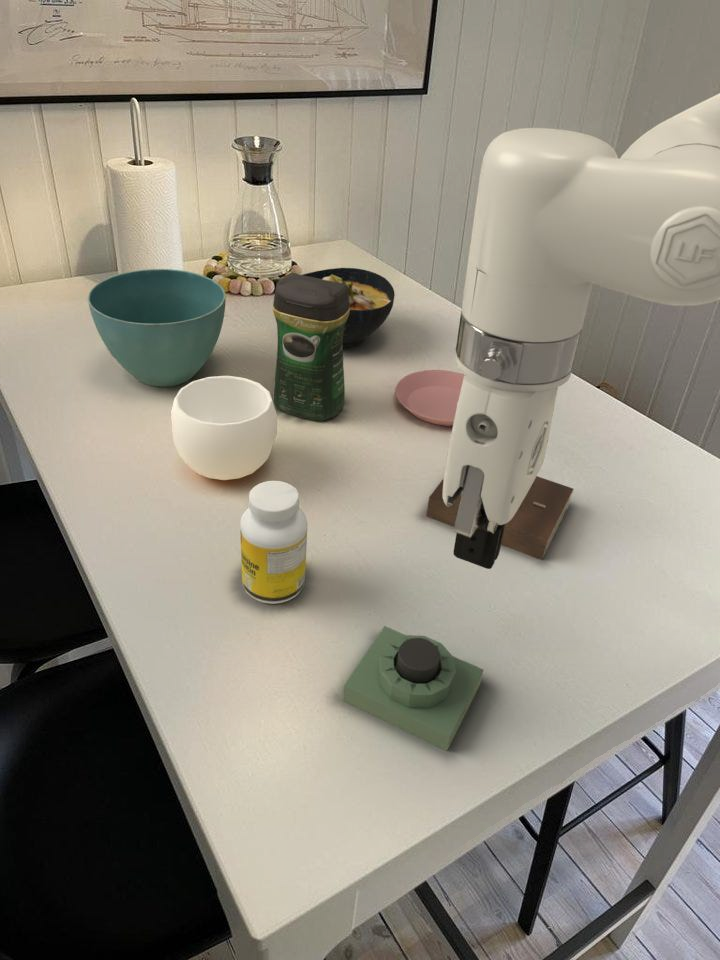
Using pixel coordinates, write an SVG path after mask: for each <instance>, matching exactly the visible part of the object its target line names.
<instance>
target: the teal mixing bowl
mask: <svg viewBox="0 0 720 960" xmlns="http://www.w3.org/2000/svg"><path fill="white" fill-rule="evenodd" d="M226 296H227V294H226V291H225V288H224V287H223V286H222V285H221V284H219V282H217V281H216V280H214V279H212V278H209V277H208V276H205V275H203V274H200V273H196V272H194V271H193V272H192V271H187V270H181V269H172V268H150V269H149V268H148V269H137V270H131V271H126V272H123V273H118V274H115V275H112V276H110V277H107V278H105V279H103V280H101V281H99V282H98V283H96V284H95V285H94V286H93V287H92V288H91V289H90V291H89V292H88V295H87V302H88V306H89V307H88V308H89V312H90V315H91V317H92V320H93V323H94V325H95V329H96V330H97V333H98V335H99V337H100V339H101V341H102V342H103V344H104V345H105V347H106V349H107V350H108V351H109V353H110V354H111V356H112V357H113V359H115V361H116V362H117V364H119V365H120V366H121V367H122V368H123V369H124V370H126V371H127V372H128V373H129V374H130V375H131V376H133V377H134V378H135V379H136V380H137V381H138V382H141V383H143V384H144V385H147V386H152V387H159V388H162V387H163V388H167V387H175V386H178V385H182V384H184V383H186V382H188V381H190V380H191V379H192V378H193V377H194V376H196V374H197V373H198V372H199V371H200V370H201V369H202V368H203V366H204V365H205V363H207V361H208V359H209V358H210V356H211V355H212V353H213V351H214V349H215V347H216V345H217V343H218V340H219V337H220V334H221V331H222V328H223V324H224V318H225V312H226V302H227V301H226V299H227V297H226Z"/></svg>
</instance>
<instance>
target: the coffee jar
mask: <svg viewBox="0 0 720 960" xmlns="http://www.w3.org/2000/svg"><path fill="white" fill-rule="evenodd" d="M272 312H273V315H274V318H275V322H276V328H277V329H276V330H277V350H276V361H275V362H276V363H275V373H274V381H273V394H272V397H273V398H272V400H273V404H274V407H275V408H276V409H277V410H278V411H281V412H282V413H286V414H288V415H291V416H294V417H299V418H301V419H302V418H303V419H308V420H312V421H321V422H322V421H326V420H328V419H332V418H333V417H335V416H336V415H338V414H339V413H340V412H341V410H342V409H343V406H344V405H345V398H346V397H345V395H346V390H345V370H344V349H343V330H344V325H345V323H346V321H347V319H348V316H349V312H350V303H349V292H348V287H347V285H346V284H345V283H338V282H332V281H327V280H323V279H318V278H313V277H308V276H303V274H299V273H296V272H295V271H291V272H289V273H287V274H286V275H284V276H283V277H282V278H280V279H279V280H278V281H277V283H276V285H275V289H274V296H273V303H272Z"/></svg>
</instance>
